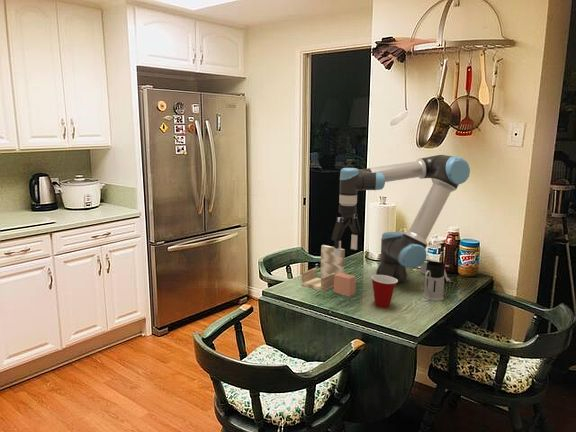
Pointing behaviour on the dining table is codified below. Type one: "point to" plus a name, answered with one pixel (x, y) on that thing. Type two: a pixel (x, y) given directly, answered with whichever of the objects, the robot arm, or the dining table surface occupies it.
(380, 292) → the plastic cup
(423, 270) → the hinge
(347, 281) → the rail end
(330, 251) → the wooden block stack
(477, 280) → the dining table surface
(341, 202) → the robot arm
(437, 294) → the glass holder
